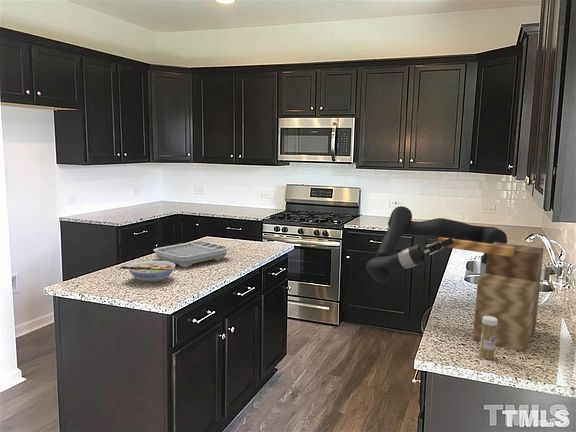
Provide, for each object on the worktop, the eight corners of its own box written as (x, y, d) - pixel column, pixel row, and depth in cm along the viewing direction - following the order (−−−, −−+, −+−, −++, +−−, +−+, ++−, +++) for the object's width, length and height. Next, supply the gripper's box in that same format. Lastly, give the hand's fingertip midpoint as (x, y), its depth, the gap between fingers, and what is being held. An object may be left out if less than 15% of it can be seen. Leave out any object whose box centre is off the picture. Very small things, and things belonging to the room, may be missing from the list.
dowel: (436, 246, 178) (437, 238, 177) (439, 244, 180) (440, 237, 180) (512, 256, 163) (513, 248, 163) (513, 255, 165) (514, 247, 165)
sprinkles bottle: (488, 361, 152) (492, 321, 150) (476, 355, 156) (479, 316, 154) (497, 358, 155) (500, 318, 153) (484, 352, 159) (488, 314, 157)
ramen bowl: (184, 275, 243) (184, 260, 242) (168, 288, 221) (168, 271, 219) (137, 273, 246) (137, 258, 244) (117, 286, 223) (116, 269, 222)
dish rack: (149, 261, 273) (149, 247, 272) (200, 251, 300) (200, 239, 299) (182, 271, 252) (181, 256, 251) (233, 260, 280) (233, 247, 278)
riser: (472, 339, 169) (480, 252, 165) (487, 320, 189) (494, 242, 184) (525, 352, 160) (534, 259, 155) (535, 330, 179) (543, 248, 175)
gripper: (402, 250, 180) (443, 232, 170) (415, 244, 191) (454, 228, 182) (410, 268, 179) (452, 252, 169) (423, 261, 190) (463, 246, 180)
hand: (453, 239), depth 175 cm, fingers closed on dowel, 3 cm apart
